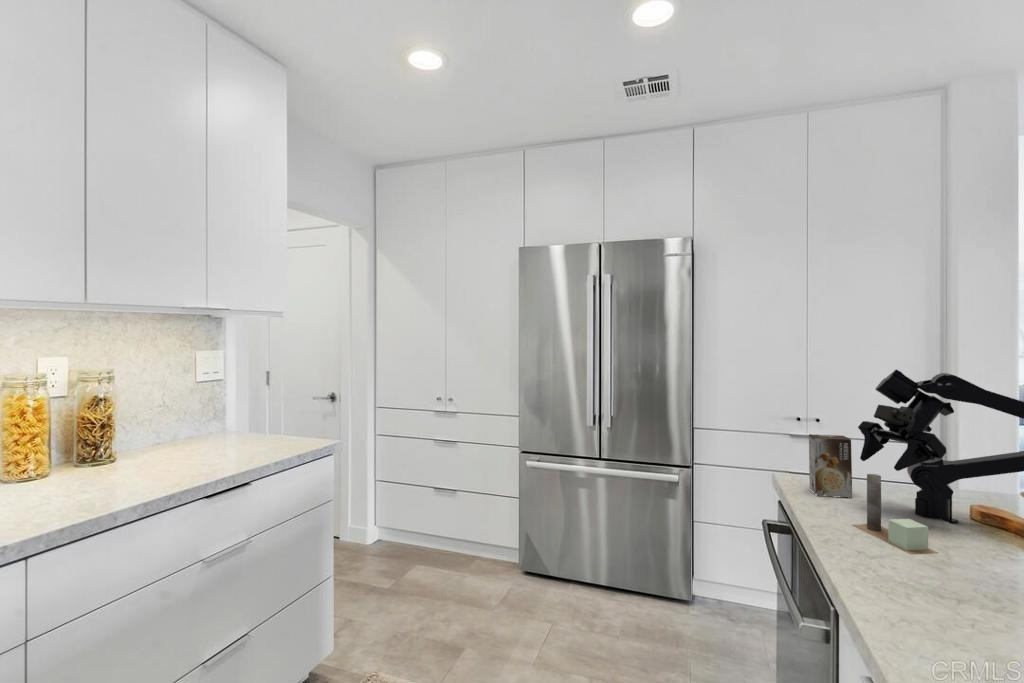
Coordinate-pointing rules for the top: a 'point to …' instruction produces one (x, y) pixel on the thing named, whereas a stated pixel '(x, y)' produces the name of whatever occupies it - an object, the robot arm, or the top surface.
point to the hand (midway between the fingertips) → (878, 464)
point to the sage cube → (908, 534)
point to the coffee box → (830, 465)
